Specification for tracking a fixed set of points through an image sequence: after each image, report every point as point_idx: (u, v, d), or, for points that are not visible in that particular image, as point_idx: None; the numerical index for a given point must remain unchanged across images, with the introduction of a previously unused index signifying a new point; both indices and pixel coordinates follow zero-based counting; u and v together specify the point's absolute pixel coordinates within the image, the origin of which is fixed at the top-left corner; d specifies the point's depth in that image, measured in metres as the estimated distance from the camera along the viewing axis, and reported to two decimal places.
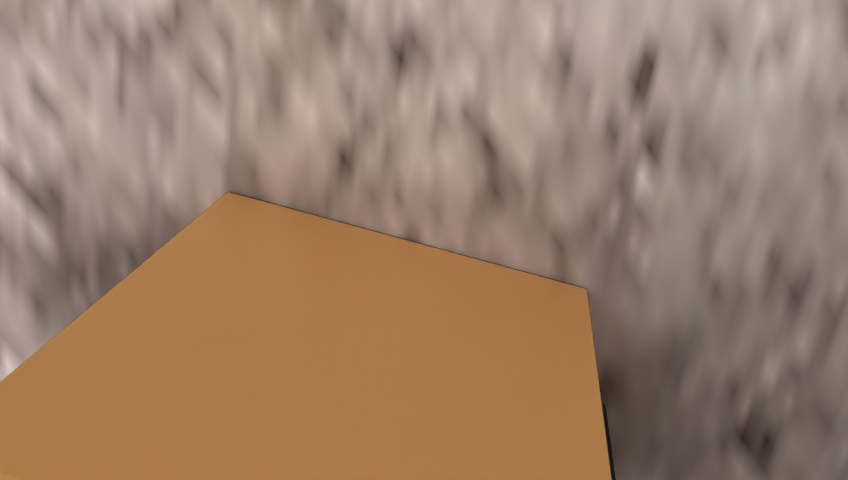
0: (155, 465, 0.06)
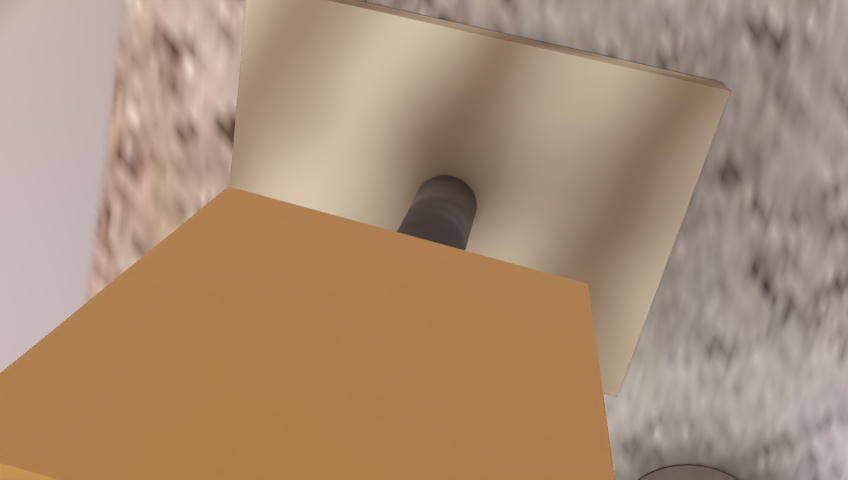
0: (156, 456, 0.06)
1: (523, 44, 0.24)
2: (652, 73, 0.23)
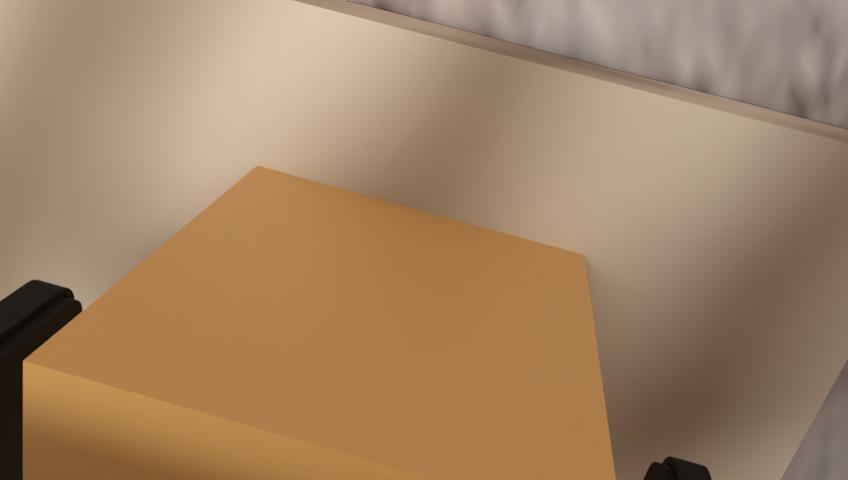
0: (217, 379, 0.08)
1: (537, 63, 0.12)
2: (795, 130, 0.12)
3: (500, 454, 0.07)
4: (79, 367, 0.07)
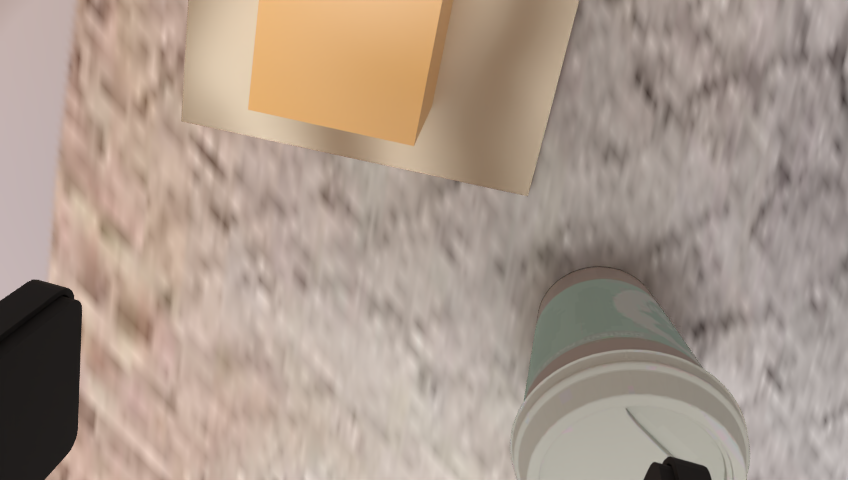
0: None
1: None
2: None
3: None
4: None
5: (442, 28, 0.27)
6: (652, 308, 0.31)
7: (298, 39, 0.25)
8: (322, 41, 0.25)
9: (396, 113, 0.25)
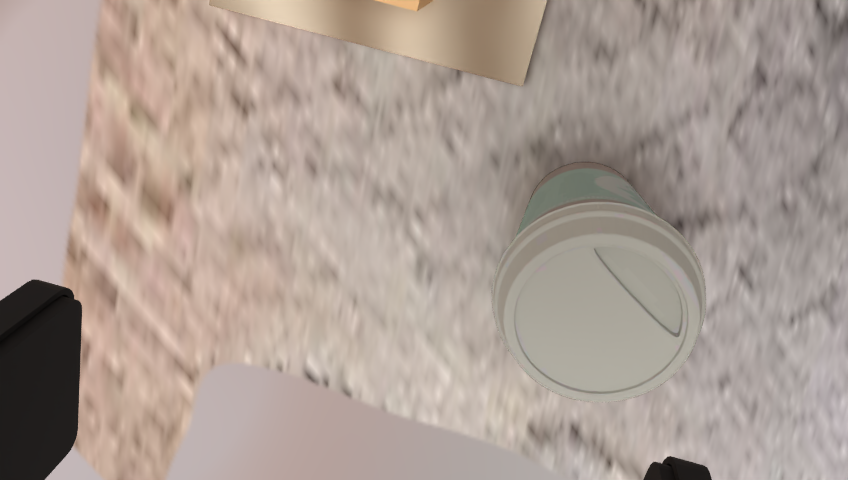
0: None
1: None
2: None
3: None
4: None
5: None
6: (630, 189, 0.34)
7: None
8: None
9: None
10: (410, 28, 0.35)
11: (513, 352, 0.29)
